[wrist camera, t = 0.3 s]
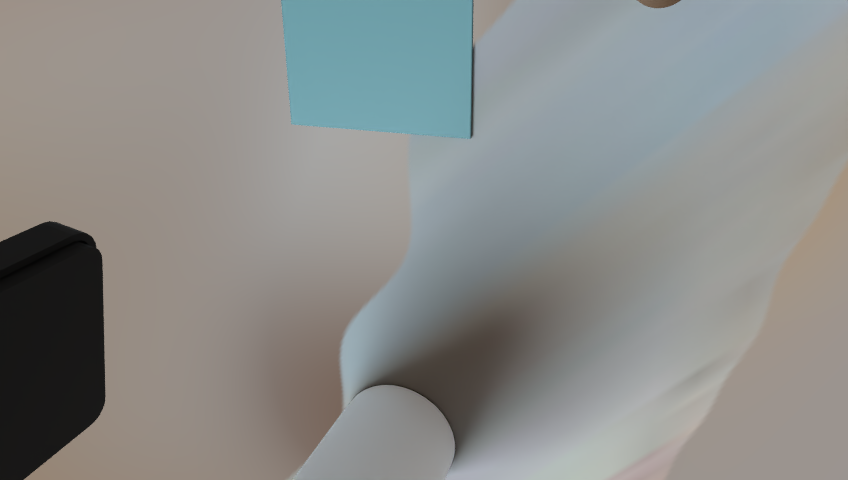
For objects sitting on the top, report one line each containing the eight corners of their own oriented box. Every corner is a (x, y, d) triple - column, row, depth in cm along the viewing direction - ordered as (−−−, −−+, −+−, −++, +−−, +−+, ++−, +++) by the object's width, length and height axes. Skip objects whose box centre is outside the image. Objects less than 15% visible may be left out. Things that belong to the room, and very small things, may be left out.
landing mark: (276, -79, 39) (274, -79, 38) (474, -82, 35) (473, -82, 35) (293, 123, 43) (291, 124, 43) (471, 137, 40) (470, 138, 39)
